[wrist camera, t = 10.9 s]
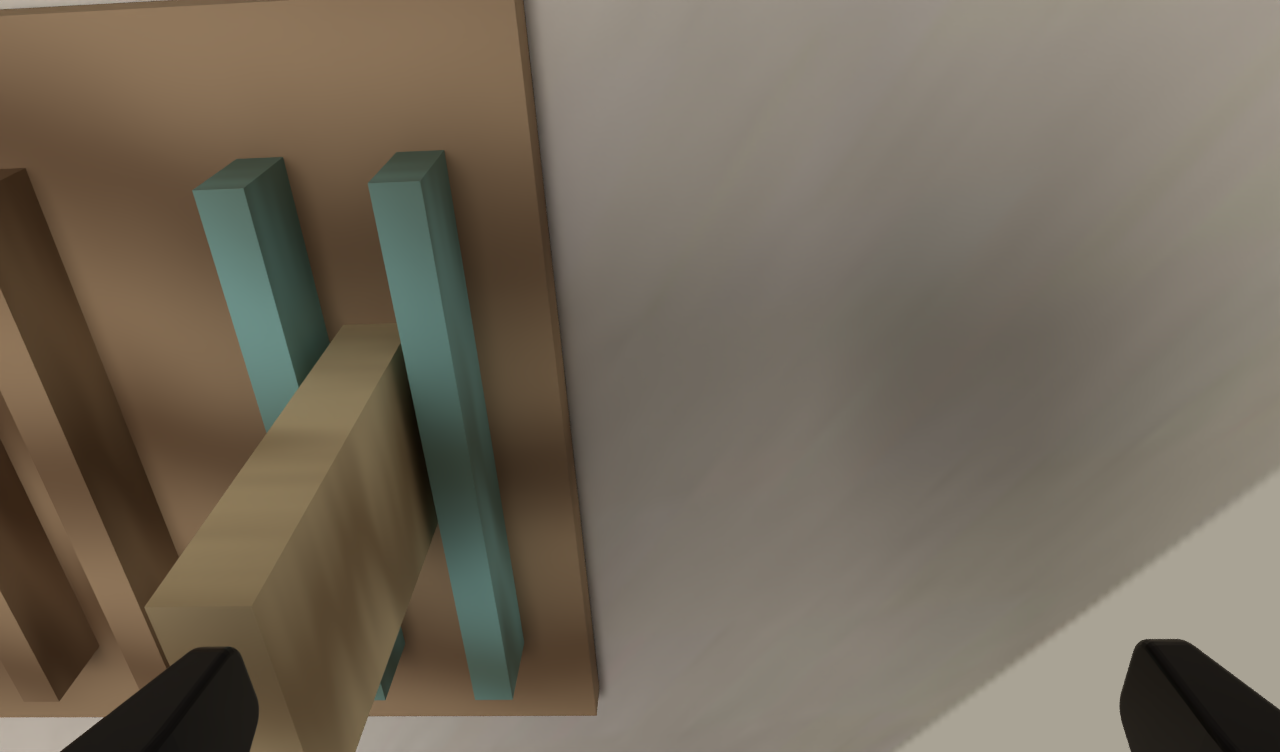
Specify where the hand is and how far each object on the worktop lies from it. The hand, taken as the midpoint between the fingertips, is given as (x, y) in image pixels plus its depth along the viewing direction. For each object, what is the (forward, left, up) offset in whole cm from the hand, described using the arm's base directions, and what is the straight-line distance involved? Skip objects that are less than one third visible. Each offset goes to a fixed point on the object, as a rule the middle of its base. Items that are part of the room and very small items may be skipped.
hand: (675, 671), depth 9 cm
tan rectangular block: (-4, +7, -12) cm, 15 cm away
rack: (-5, +16, -13) cm, 21 cm away
